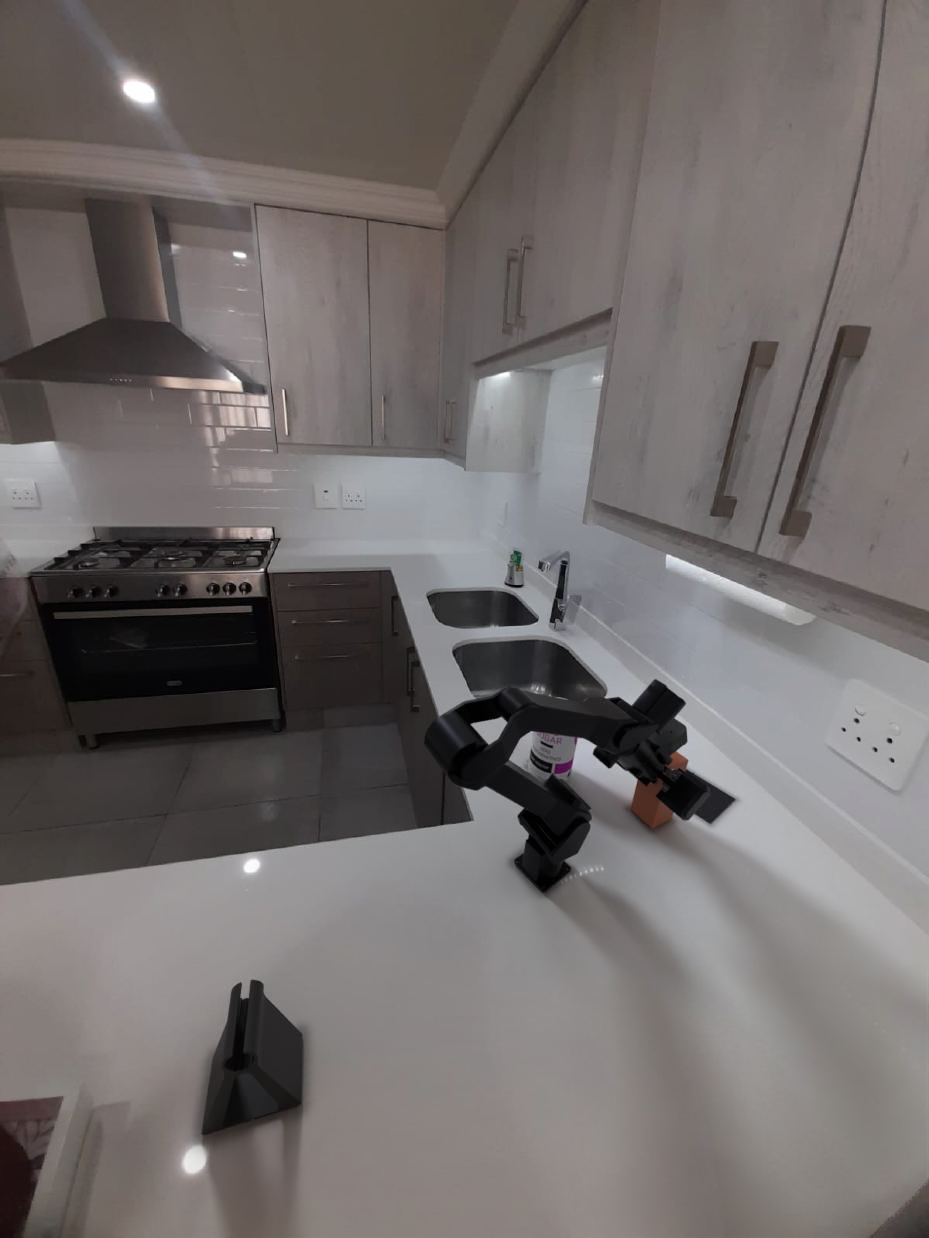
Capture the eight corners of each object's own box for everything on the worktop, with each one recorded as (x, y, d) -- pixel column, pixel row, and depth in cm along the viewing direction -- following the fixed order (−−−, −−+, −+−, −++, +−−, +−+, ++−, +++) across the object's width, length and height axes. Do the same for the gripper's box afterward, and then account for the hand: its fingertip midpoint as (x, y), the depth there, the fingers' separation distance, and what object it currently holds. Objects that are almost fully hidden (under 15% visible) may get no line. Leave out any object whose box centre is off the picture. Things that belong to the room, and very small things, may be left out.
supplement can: (567, 760, 99) (579, 697, 92) (571, 789, 91) (585, 723, 85) (527, 755, 99) (537, 693, 93) (528, 784, 92) (538, 718, 86)
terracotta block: (651, 828, 84) (668, 768, 79) (630, 809, 88) (644, 750, 83) (671, 819, 86) (688, 759, 81) (649, 800, 90) (664, 742, 85)
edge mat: (709, 823, 86) (710, 823, 86) (649, 783, 94) (649, 782, 94) (735, 799, 92) (735, 798, 92) (676, 763, 100) (676, 762, 100)
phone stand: (303, 1036, 54) (294, 969, 49) (301, 1105, 48) (291, 1039, 43) (213, 1059, 51) (195, 991, 46) (201, 1135, 46) (179, 1068, 41)
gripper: (720, 746, 68) (744, 782, 78) (621, 681, 83) (651, 718, 92) (669, 806, 68) (699, 835, 77) (579, 730, 82) (613, 763, 92)
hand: (664, 782), depth 85 cm, fingers closed on terracotta block, 5 cm apart
